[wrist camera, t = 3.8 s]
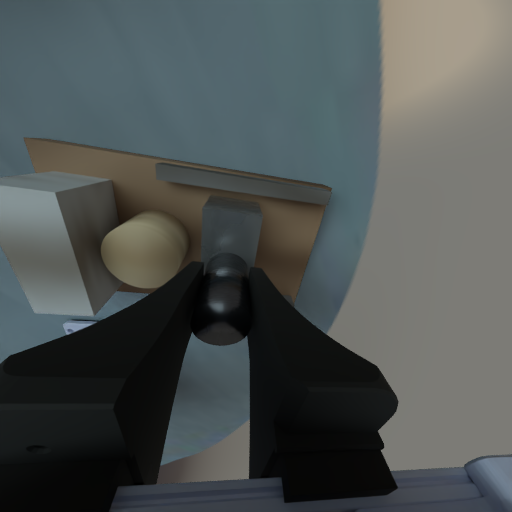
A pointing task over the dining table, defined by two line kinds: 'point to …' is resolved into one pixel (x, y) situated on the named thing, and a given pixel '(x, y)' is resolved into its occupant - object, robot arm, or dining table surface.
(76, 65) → the dining table surface
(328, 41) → the dining table surface
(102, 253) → the potato
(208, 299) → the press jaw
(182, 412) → the dining table surface
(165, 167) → the base
